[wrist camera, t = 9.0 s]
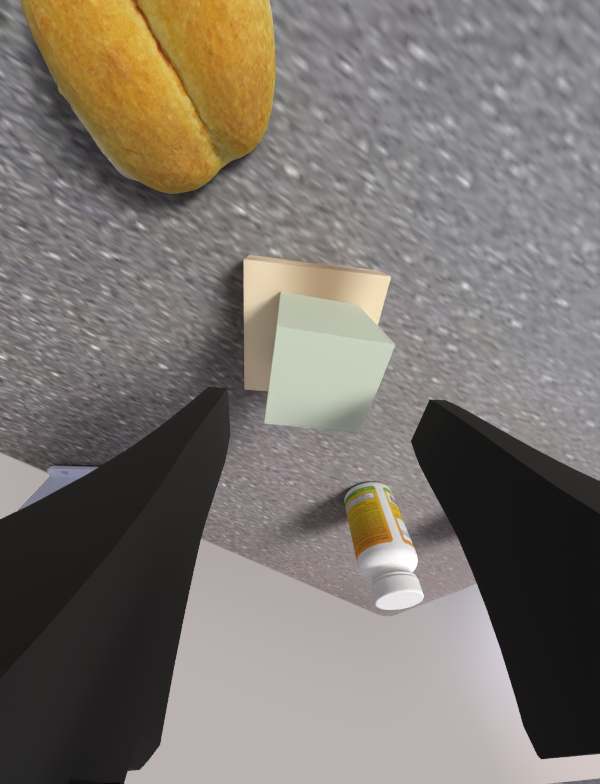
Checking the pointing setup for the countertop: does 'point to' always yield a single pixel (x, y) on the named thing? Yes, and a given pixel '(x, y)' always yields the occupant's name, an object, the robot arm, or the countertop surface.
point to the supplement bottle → (383, 546)
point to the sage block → (324, 364)
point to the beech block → (303, 279)
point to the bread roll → (162, 80)
